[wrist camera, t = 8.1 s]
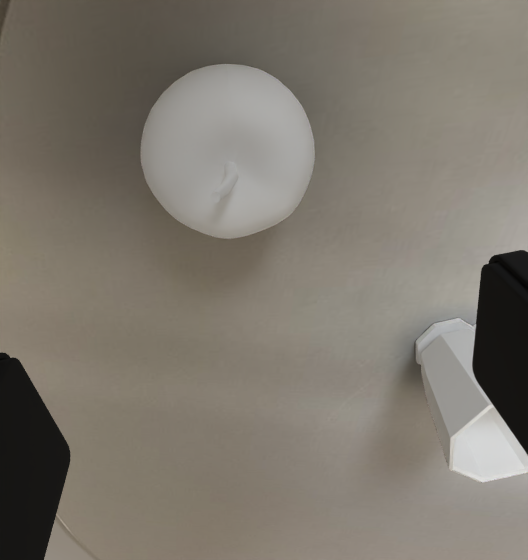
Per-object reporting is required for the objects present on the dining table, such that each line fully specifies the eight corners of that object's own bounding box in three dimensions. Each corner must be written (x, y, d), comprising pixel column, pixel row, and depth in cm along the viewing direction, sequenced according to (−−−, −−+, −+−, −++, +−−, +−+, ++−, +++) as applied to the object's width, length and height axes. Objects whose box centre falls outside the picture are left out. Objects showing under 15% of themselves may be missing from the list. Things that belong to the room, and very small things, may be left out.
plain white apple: (139, 51, 21) (112, 88, 14) (301, 50, 22) (347, 85, 15) (157, 201, 25) (142, 287, 18) (294, 196, 25) (329, 276, 19)
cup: (376, 337, 31) (425, 437, 25) (522, 256, 29) (620, 342, 22) (418, 397, 35) (471, 499, 28) (551, 329, 33) (643, 422, 26)
